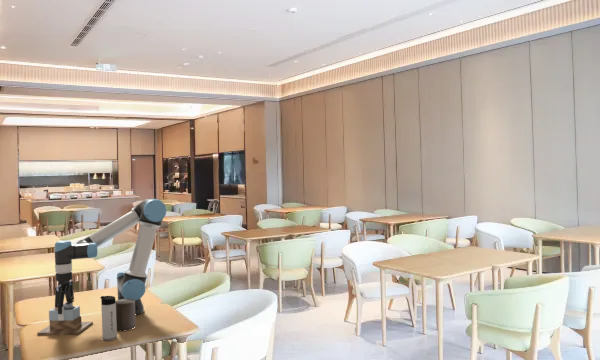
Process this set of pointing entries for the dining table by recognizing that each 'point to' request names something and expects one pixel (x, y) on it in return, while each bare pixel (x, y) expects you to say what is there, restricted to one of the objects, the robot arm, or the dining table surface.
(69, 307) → the metal block
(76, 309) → the blue-grey open box
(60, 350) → the dining table surface
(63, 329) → the dock
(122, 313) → the pillar candle
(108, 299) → the travel mug
